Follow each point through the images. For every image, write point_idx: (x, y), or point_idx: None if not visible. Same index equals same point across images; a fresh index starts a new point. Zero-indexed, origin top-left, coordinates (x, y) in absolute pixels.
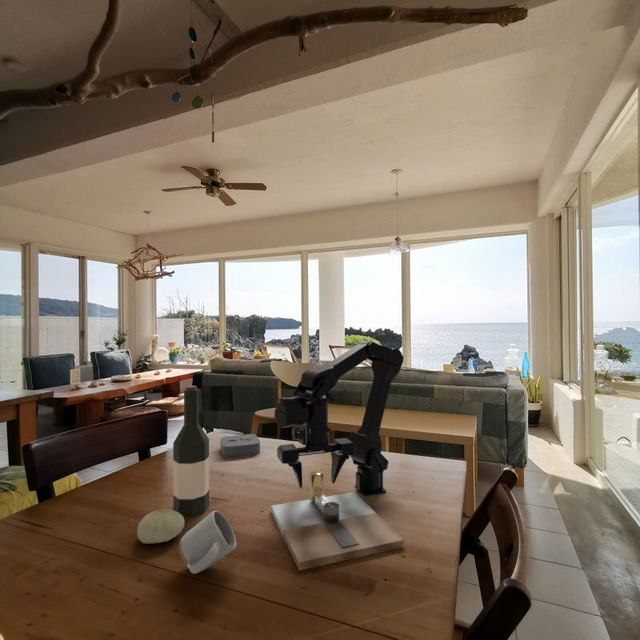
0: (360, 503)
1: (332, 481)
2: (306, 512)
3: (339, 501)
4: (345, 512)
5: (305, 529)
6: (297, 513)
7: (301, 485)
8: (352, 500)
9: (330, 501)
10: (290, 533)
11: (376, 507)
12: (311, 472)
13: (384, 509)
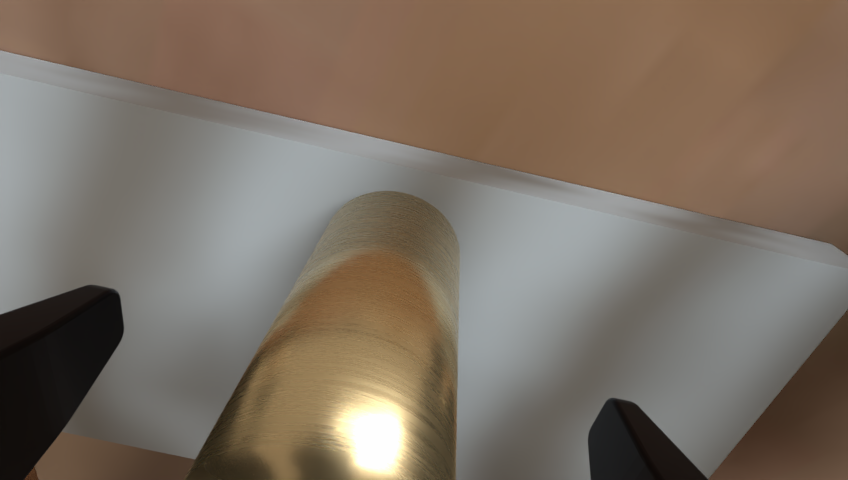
0: (689, 441)
1: (598, 441)
2: (230, 338)
3: (580, 340)
4: (489, 469)
5: (158, 476)
6: (155, 317)
7: (85, 381)
8: (686, 382)
9: (511, 302)
10: (64, 463)
11: (788, 432)
12: (226, 466)
13: (798, 470)
